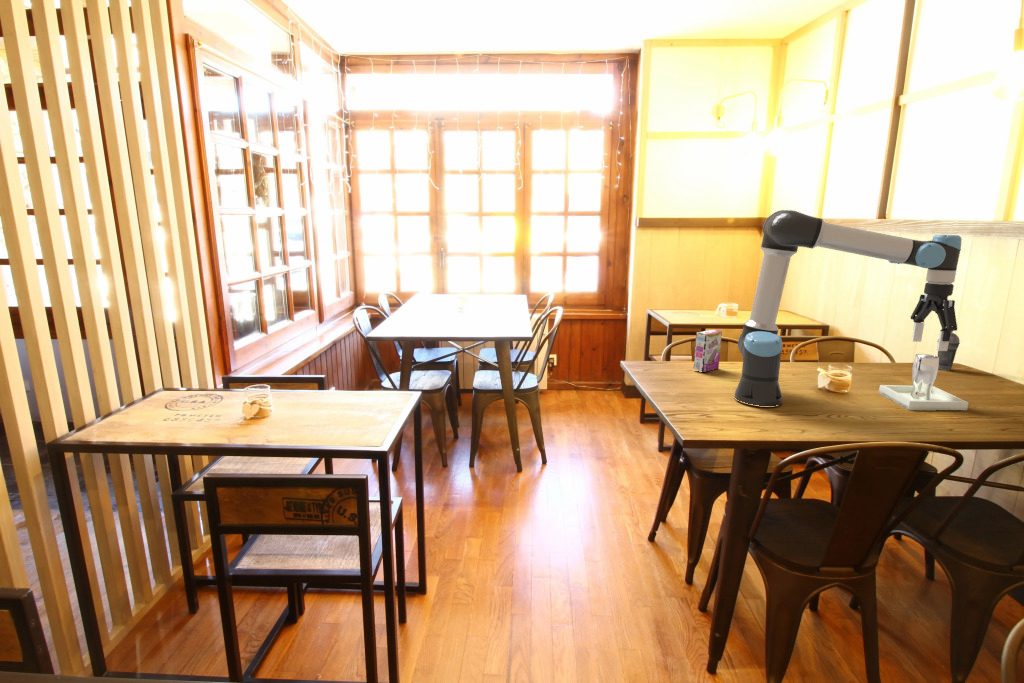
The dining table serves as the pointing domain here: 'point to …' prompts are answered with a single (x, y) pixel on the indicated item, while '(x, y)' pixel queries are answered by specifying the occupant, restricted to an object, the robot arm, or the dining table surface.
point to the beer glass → (924, 376)
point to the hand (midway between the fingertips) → (928, 346)
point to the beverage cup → (948, 353)
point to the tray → (938, 400)
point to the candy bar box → (707, 350)
